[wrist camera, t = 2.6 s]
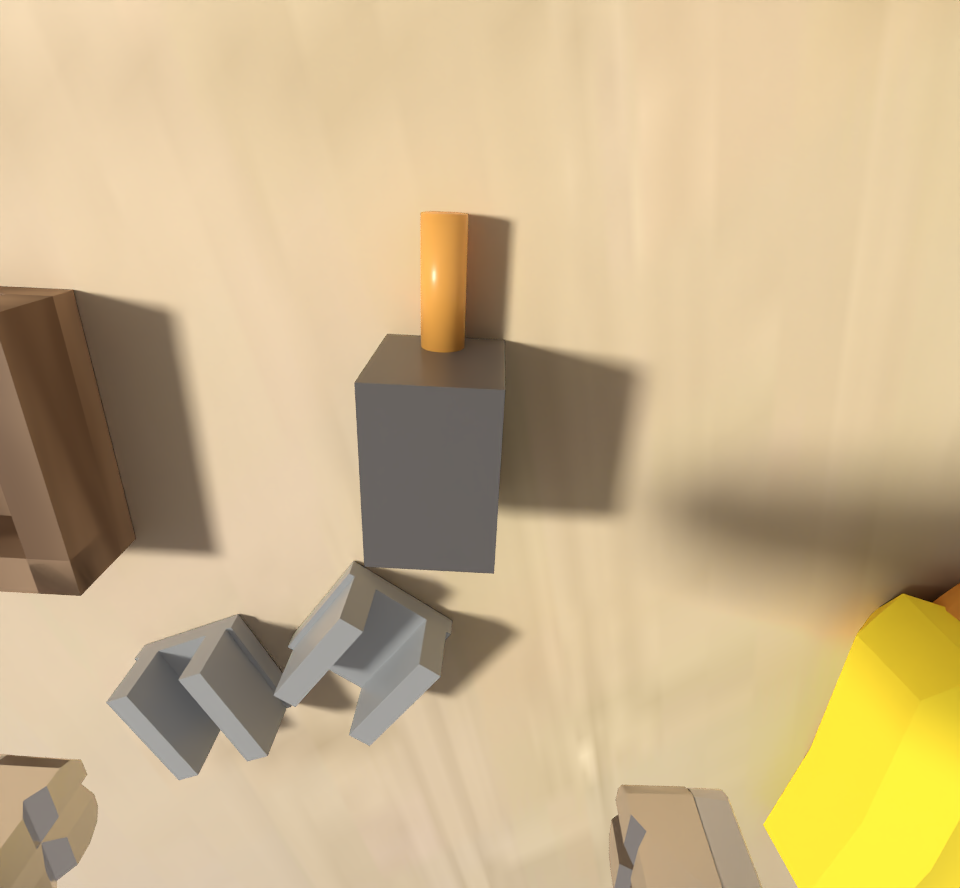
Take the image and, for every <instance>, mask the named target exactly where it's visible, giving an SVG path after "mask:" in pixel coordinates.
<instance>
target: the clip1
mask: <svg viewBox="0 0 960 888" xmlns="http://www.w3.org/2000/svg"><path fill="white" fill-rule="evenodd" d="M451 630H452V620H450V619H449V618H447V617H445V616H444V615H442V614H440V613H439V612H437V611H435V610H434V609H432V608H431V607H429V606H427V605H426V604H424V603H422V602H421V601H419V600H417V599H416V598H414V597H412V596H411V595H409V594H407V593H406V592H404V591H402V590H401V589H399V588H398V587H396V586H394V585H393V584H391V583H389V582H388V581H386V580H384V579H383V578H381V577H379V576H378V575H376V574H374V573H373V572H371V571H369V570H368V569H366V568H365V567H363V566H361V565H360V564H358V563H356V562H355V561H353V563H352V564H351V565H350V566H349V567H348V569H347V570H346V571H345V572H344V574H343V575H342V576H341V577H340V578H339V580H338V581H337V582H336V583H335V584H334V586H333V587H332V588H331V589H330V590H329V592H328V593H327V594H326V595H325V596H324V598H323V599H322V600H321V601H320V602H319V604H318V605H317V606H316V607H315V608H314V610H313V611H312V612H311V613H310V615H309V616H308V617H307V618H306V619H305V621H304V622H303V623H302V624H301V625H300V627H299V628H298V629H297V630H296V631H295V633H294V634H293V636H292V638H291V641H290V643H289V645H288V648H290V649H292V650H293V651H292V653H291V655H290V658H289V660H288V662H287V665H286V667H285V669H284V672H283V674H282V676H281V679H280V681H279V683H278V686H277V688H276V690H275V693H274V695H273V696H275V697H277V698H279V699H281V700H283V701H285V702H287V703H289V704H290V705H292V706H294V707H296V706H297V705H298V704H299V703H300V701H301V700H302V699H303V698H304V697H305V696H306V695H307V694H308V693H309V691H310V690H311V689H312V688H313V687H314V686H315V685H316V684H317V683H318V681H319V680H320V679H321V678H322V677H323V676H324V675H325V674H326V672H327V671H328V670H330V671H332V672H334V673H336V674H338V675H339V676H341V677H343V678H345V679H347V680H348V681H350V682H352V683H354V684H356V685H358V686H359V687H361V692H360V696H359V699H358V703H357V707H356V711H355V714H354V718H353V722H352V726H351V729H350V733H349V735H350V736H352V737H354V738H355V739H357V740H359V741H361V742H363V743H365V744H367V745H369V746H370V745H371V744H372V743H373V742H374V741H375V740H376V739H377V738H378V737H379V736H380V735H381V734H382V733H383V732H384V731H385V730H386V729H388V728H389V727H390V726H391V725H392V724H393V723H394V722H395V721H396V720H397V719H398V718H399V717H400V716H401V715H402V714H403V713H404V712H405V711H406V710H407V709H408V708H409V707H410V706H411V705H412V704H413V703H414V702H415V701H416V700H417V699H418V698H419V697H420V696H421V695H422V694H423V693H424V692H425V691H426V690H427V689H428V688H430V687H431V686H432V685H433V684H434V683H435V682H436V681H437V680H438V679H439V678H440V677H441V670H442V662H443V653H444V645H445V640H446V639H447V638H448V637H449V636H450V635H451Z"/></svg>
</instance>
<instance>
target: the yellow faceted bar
mask: <svg viewBox="0 0 960 888" xmlns="http://www.w3.org/2000/svg"><path fill="white" fill-rule="evenodd" d="M763 825H764V827H765V829H766V831H767V832H768V834H769V836H770V838H771V840H772V841H773V843H774V845H775V847H776V849H777V850H778V852H779V854H780V856H781V858H782V859H783V861H784V863H785V865H786V867H787V868H788V870H789V872H790V874H791V876H792V877H793V879H794V881H795V883H796V885H797V886H798V888H960V583H959V584H957V585H956V586H954V587H953V588H951V589H950V590H949V591H947V592H946V593H944V594H943V595H941V596H940V597H939V598H937V599H936V600H935V601H933V603H931V602H928V601H925V600H922V599H919V598H916V597H912V596H909V595H906V594H901V595H899V596H898V597H896V598H894V599H893V600H891V601H889V602H888V603H886V604H885V605H883V606H881V607H880V608H878V609H877V610H876V611H874V612H873V613H872V614H871V615H870V617H869V618H868V619H867V621H866V622H865V623H864V625H863V626H862V628H861V629H860V630H859V632H858V633H857V635H856V637H855V640H854V642H853V644H852V647H851V649H850V652H849V654H848V657H847V659H846V662H845V664H844V667H843V669H842V672H841V674H840V677H839V679H838V681H837V684H836V686H835V689H834V691H833V694H832V696H831V699H830V701H829V704H828V706H827V709H826V711H825V713H824V716H823V718H822V721H821V723H820V726H819V728H818V731H817V733H816V736H815V738H814V741H813V743H812V746H811V748H810V750H809V751H808V753H807V755H806V756H805V758H804V760H803V761H802V763H801V764H800V766H799V768H798V769H797V771H796V772H795V774H794V776H793V777H792V779H791V781H790V782H789V784H788V785H787V787H786V789H785V790H784V792H783V794H782V795H781V797H780V798H779V800H778V802H777V803H776V805H775V806H774V808H773V810H772V811H771V813H770V815H769V816H768V818H767V819H766V821H765V823H764V824H763Z"/></svg>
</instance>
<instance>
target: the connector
mask: <svg viewBox="0 0 960 888" xmlns="http://www.w3.org/2000/svg"><path fill="white" fill-rule="evenodd" d="M467 245H468V214H465V213H458V212H438V211H431V212H421V336H417V335H396V334H387V335H386V336H385V338H384V339H383V341H382V342H381V344H380V345H379V347H378V348H377V350H376V351H375V353H374V354H373V356H372V357H371V359H370V360H369V362H368V363H367V365H366V366H365V368H364V369H363V371H362V372H361V374H360V375H359V377H358V378H357V380H356V381H355V400H356V418H357V437H358V456H359V475H360V493H361V512H362V531H363V549H364V567H382V568H400V569H419V570H438V571H456V572H475V573H493V574H494V564H495V548H496V531H497V515H498V499H499V483H500V467H501V451H502V435H503V419H504V403H505V340H499V339H479V338H465V312H466V278H467Z"/></svg>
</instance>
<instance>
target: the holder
mask: <svg viewBox="0 0 960 888" xmlns="http://www.w3.org/2000/svg"><path fill="white" fill-rule="evenodd" d="M135 539H136V538H135V534H134V530H133V526H132V522H131V518H130V514H129V510H128V506H127V502H126V498H125V494H124V490H123V486H122V482H121V478H120V474H119V470H118V467H117V463H116V459H115V455H114V451H113V447H112V443H111V439H110V435H109V431H108V427H107V423H106V419H105V415H104V411H103V407H102V403H101V399H100V395H99V391H98V387H97V383H96V379H95V375H94V371H93V367H92V363H91V359H90V355H89V351H88V347H87V343H86V339H85V335H84V332H83V328H82V324H81V320H80V316H79V312H78V308H77V304H76V300H75V296H74V292H73V290H64V289H43V288H23V287H2V286H0V591H3V592H22V593H40V594H58V595H76V596H81V595H82V594H83V593H84V592H85V591H86V590H87V589H88V588H89V587H90V586H91V585H92V584H93V582H94V581H95V580H96V579H97V578H98V577H99V576H100V575H101V574H102V573H103V572H104V571H105V570H106V569H107V568H108V567H109V566H110V565H111V564H112V563H113V562H114V561H115V560H116V559H117V558H118V557H119V556H120V555H121V554H122V553H123V552H124V551H125V549H126V548H127V547H128V546H129V545H130V544H131V543H132V542H133V541H134V540H135Z"/></svg>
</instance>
